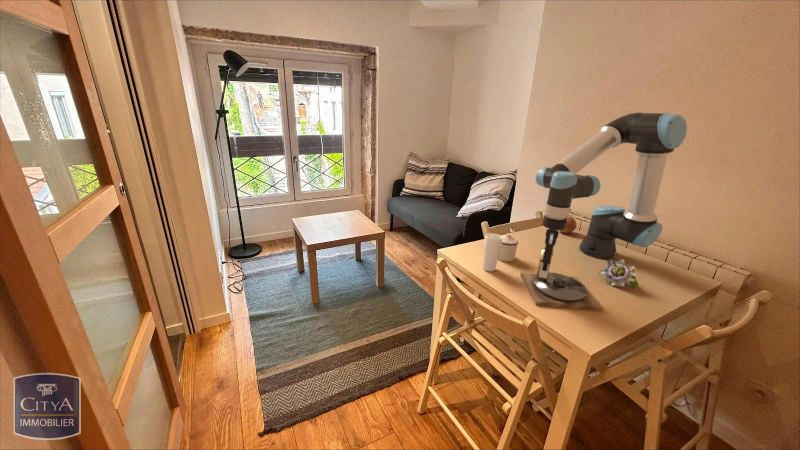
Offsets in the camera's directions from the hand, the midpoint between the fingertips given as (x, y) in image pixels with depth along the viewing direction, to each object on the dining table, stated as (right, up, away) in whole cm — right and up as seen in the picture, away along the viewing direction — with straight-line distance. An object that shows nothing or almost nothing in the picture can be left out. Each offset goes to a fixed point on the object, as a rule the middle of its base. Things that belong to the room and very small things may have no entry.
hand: (543, 273), depth 118 cm
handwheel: (+5, -5, -2) cm, 7 cm away
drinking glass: (-17, 0, +14) cm, 22 cm away
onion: (+38, +14, +56) cm, 69 cm away
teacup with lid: (-8, +4, +25) cm, 26 cm away
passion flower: (+33, -5, +7) cm, 34 cm away
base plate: (+5, -7, -1) cm, 8 cm away
